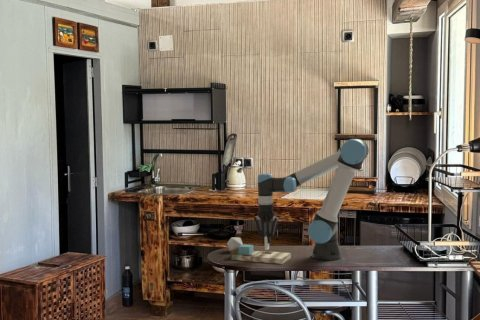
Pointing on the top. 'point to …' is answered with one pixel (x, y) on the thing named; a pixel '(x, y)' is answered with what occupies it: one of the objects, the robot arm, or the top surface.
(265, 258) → the trap board
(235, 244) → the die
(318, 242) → the robot arm
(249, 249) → the block
